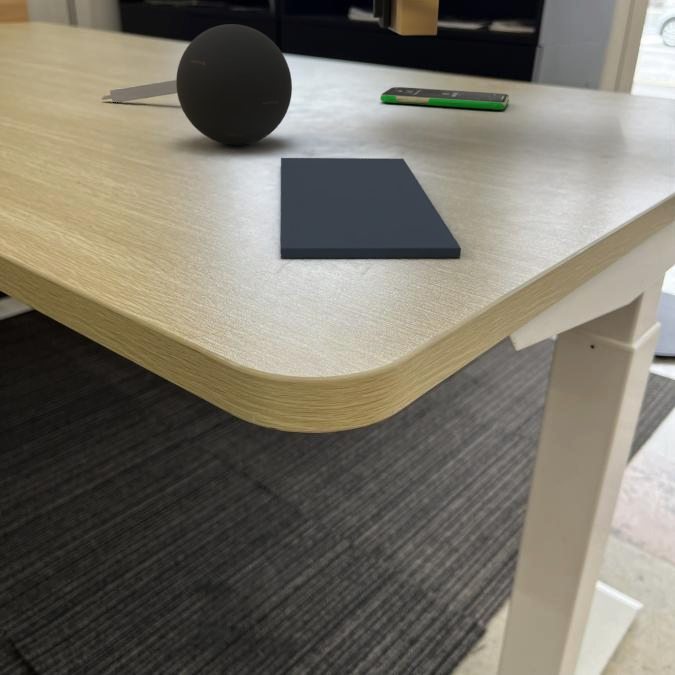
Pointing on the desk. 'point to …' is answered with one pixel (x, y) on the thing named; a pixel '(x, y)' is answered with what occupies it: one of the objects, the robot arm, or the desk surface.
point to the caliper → (142, 91)
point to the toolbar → (414, 17)
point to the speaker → (234, 84)
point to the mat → (358, 211)
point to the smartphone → (446, 98)
